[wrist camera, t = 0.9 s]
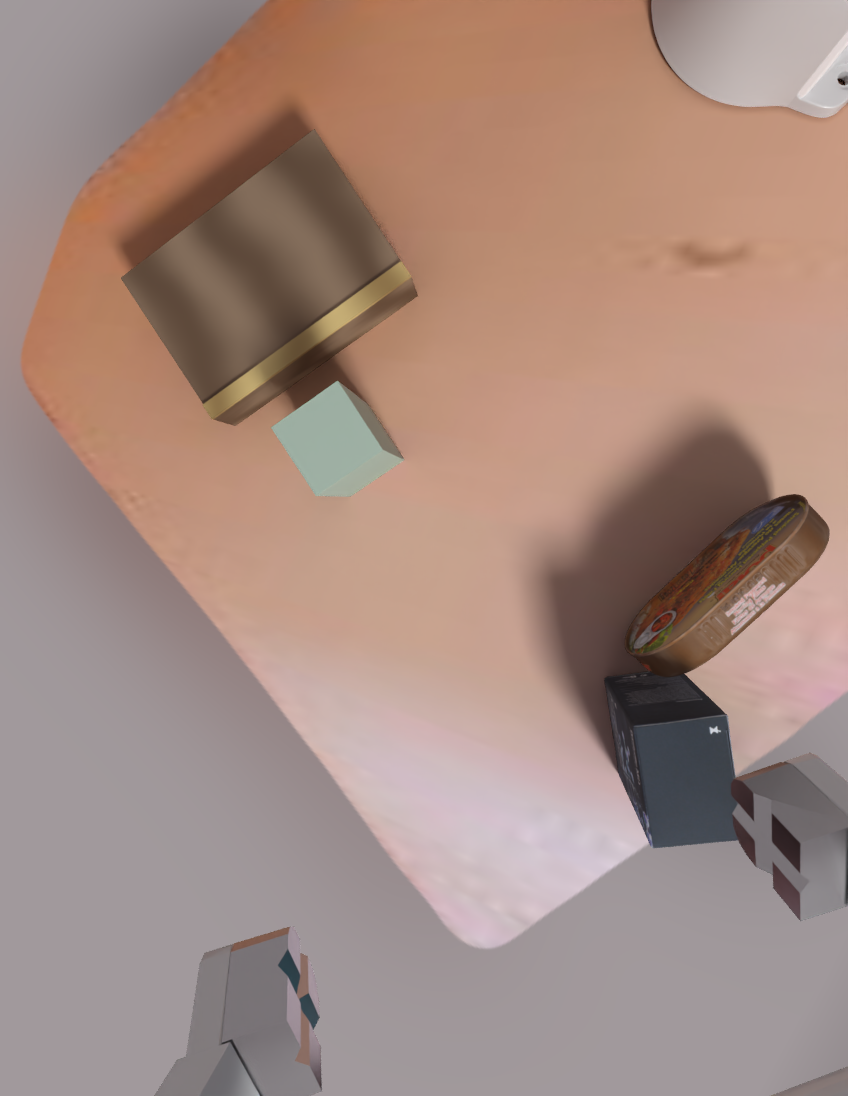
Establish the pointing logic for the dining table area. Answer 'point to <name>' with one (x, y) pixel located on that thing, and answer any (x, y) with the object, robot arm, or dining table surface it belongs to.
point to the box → (673, 758)
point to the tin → (727, 586)
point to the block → (337, 442)
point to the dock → (270, 282)
